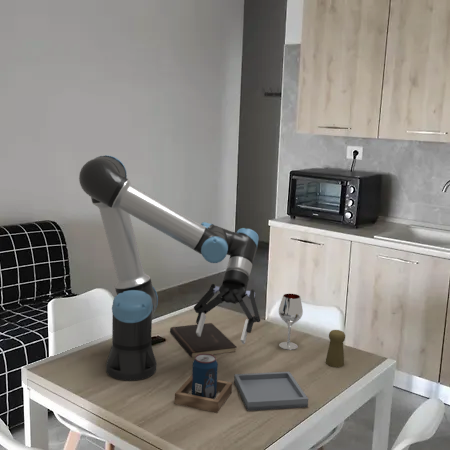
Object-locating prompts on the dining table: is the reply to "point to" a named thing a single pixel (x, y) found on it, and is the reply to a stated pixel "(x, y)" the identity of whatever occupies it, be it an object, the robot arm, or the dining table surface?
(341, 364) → the cork
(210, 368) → the soda can
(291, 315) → the wineglass
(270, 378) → the tray
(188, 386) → the can holder
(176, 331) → the hardcover book
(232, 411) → the dining table surface
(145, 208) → the robot arm
